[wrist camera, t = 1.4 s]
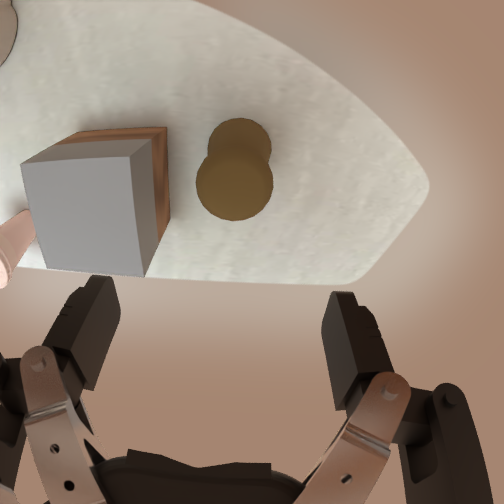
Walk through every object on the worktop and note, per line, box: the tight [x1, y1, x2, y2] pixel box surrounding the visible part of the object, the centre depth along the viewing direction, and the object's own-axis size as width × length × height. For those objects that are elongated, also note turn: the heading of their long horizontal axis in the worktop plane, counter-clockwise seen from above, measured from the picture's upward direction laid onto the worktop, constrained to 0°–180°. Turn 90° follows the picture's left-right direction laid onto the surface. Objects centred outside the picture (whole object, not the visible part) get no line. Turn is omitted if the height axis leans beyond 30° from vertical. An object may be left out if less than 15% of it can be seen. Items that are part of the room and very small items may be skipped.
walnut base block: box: [52, 127, 170, 243], centre depth 27 cm, size 10×10×5 cm
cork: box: [196, 118, 273, 221], centre depth 24 cm, size 6×6×11 cm
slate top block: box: [20, 139, 159, 277], centre depth 23 cm, size 10×10×5 cm
